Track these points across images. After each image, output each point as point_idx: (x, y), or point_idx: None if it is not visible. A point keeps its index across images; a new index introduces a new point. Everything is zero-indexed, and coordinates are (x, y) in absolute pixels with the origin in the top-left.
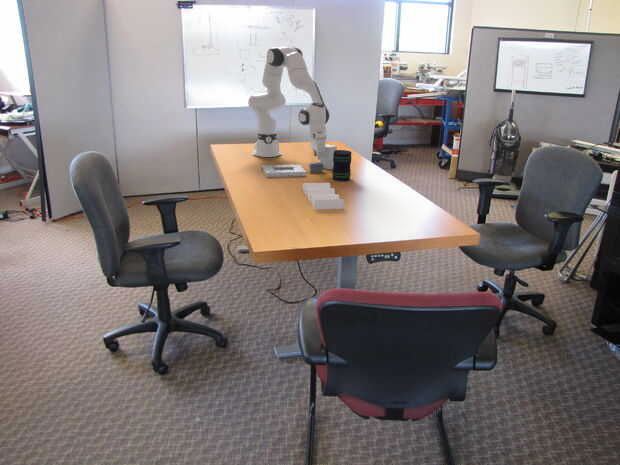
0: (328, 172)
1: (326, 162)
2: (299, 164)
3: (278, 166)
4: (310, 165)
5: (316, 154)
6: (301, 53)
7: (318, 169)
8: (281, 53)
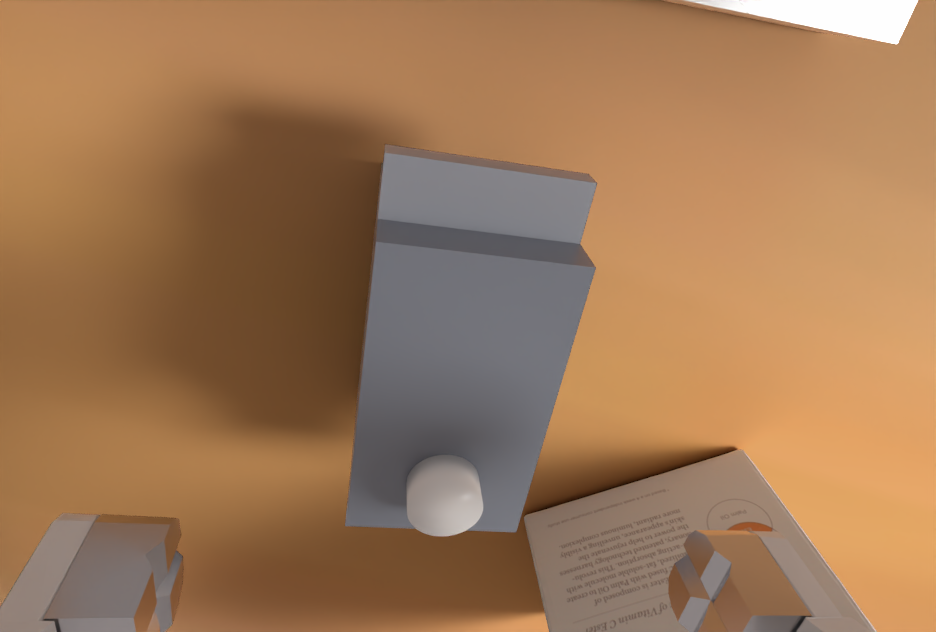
0: (322, 470)
1: (596, 597)
2: (902, 27)
3: None
4: (449, 225)
5: (700, 627)
6: None
7: (362, 351)
8: None
